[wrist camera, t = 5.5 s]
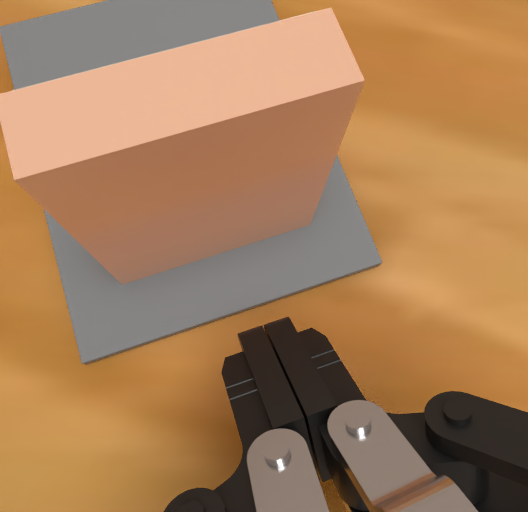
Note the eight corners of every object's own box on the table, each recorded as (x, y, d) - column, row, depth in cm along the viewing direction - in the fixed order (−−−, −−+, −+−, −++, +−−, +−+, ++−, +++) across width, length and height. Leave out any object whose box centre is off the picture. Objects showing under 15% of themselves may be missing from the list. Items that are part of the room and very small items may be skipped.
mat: (379, 265, 24) (382, 262, 23) (86, 364, 22) (81, 363, 21) (255, -28, 28) (255, -36, 28) (4, 35, 26) (-1, 26, 26)
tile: (310, 224, 24) (364, 80, 13) (122, 284, 22) (14, 180, 12) (290, 175, 24) (327, 0, 14) (107, 231, 23) (-8, 87, 13)
